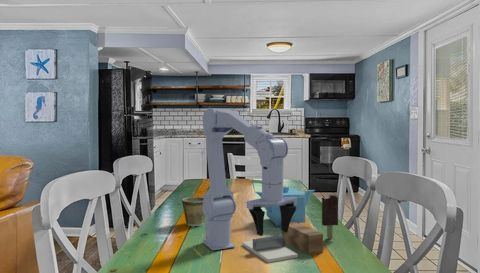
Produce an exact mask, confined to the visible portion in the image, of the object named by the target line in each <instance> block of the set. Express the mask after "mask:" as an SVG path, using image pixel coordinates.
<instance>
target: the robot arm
mask: <svg viewBox="0 0 480 273" xmlns="http://www.w3.org/2000/svg"><path fill="white" fill-rule="evenodd" d="M202 127H203V135H204V136H205V146H206V147H205V148H206V157H207V158H206V159H207V168H208V177H209V178H208V181H209V189H208V190H207V191H206V192H204V194H203V195H202V197H203V206H202V210H203V213H204V215H205V219H206V220H205V222H204V232H205V233H204V237H205V238H204V240H202V244H204V245H205V246H206V247H207V248H209V249H210V250H211V251H216V250H217V251H218V250H224V249H230V248H236V245H235V244H234V243H233V242H231V241H232V240H231V237H232V236H231V234H232V233H231V232H232V231H231V229H232V226H231V225H232V223H231V221H232V218H233V215H234V214H235V213H236V211H237V203H236V201H235V197H234V192H233V191H232V190H231V189H230V188H229V187H227V180H226V179H227V178H226V170H225V168H226V167H225V166H226V165H225V158H224V148H223V147H224V146H223V139H224V137H225V136H226V135H227V134H229V133H230V132H231V131H232V130H235V131H237V132H238V133H240V134H242V135H243V139H244V142H246V143H247V144H248V145H249V146H251V147H252V148H253V149H255V150H256V151H257V152H256V153H257V156H258V158H259V164H260V166H261V192H262V198H261V197H260V198H256V199H251V200H247V201H246V208H247V210H248V212H249V214H250V215H251V218H252V220H253V223H254V226H255V230H256V235H258V236H259V237H262V236H264V235H263V234H264V218H265V214H266V212H265V211H264V210H263V209H262V208H264V207H273V206H279V207H280V212H281V226H280V230H281V232H282V231H284V232H288V228H289V224H290V221H291V218H292V216H293V214H294V212H295V211H296V206H294V205H297V198H296V197H283V186H284V158H286V157H287V155H288V153H289V146H288V143H287V141H286V140H284V138H282V137H274V136H273V134H272V133H270V132H267V131H266V130H265V129H263V126H262V125H260V124H252V125H251V124H250V123H249V122H248V121H247V120H245V119H244V118H243V116H240V114H239V111H237V110H236V109H234V108H215V107H214V108H212V107H208V108H207V109H206V110H205V111H204V114H203V115H202Z"/></svg>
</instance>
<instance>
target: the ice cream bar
mask: <svg viewBox="0 0 480 273" xmlns="http://www.w3.org/2000/svg"><path fill="white" fill-rule="evenodd" d="M321 225H322V226H323V227H325V226H326V228H327V230H326V233H327V234H326V237H327V239H328V240H331V239H332V238H333V229H334V228H333V226H338V225H339V197H338V196H337V195H335V194H329V195H328V197H321Z"/></svg>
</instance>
